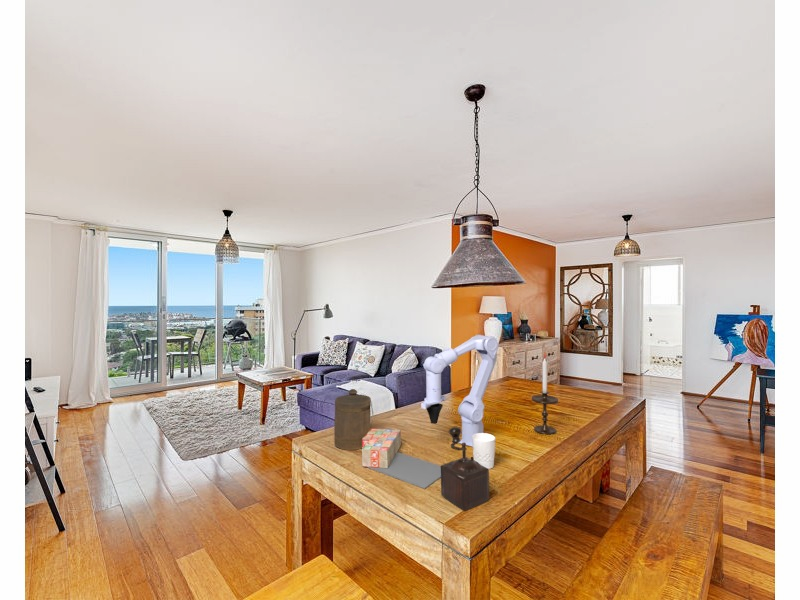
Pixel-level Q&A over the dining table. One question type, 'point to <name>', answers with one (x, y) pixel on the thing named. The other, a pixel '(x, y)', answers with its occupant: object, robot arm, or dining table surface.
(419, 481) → the mat
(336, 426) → the wooden container
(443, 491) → the coffee grinder
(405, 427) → the dining table surface
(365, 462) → the stack of blocks
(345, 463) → the dining table surface
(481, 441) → the white cup
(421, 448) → the dining table surface
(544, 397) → the candlestick
